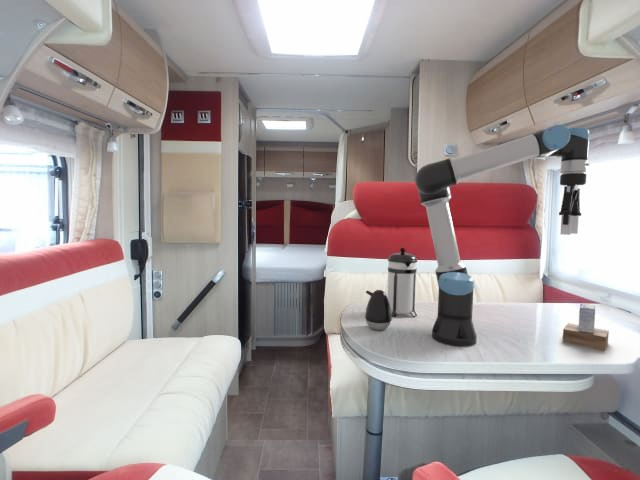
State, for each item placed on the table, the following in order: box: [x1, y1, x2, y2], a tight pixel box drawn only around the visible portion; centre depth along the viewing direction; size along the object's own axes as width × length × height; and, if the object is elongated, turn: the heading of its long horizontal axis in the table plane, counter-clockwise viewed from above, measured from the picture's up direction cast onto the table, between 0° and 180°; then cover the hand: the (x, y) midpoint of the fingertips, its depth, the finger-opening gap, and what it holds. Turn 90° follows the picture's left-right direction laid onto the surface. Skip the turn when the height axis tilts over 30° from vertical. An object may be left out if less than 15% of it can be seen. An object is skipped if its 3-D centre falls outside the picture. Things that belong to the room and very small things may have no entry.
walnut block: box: [562, 322, 610, 352], centre depth 127 cm, size 10×12×5 cm
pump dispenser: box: [364, 289, 393, 331], centre depth 139 cm, size 10×10×15 cm
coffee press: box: [387, 247, 418, 318], centre depth 160 cm, size 17×16×30 cm
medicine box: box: [578, 303, 596, 334], centre depth 127 cm, size 8×4×9 cm, turn 143°
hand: (569, 234), depth 126 cm, fingers open, 13 cm apart
